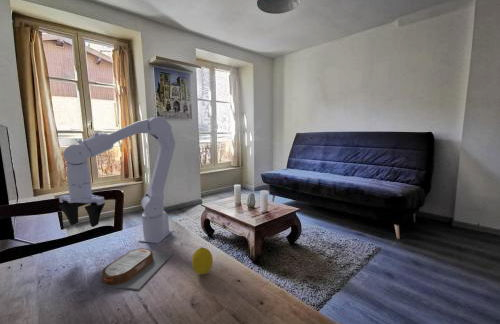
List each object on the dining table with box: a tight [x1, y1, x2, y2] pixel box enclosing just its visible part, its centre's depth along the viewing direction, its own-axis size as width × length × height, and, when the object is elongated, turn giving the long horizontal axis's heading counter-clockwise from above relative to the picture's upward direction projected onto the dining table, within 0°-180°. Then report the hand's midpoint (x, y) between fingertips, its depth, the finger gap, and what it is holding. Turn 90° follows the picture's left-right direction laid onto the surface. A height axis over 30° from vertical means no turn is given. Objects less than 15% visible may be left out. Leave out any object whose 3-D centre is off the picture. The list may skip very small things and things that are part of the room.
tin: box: [101, 247, 153, 286], centre depth 69 cm, size 15×3×8 cm
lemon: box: [191, 246, 214, 276], centre depth 66 cm, size 6×6×8 cm
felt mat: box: [100, 251, 173, 291], centre depth 70 cm, size 17×11×1 cm, turn 170°
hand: (84, 224), depth 76 cm, fingers open, 7 cm apart
